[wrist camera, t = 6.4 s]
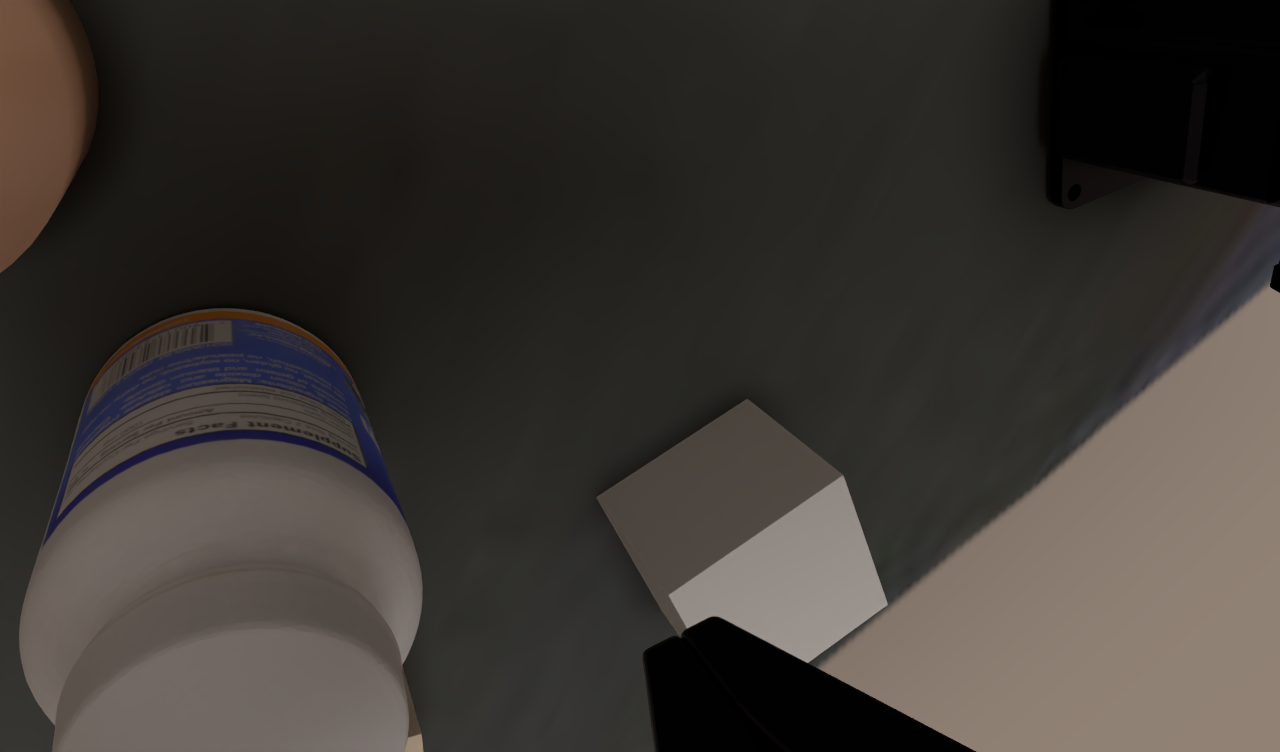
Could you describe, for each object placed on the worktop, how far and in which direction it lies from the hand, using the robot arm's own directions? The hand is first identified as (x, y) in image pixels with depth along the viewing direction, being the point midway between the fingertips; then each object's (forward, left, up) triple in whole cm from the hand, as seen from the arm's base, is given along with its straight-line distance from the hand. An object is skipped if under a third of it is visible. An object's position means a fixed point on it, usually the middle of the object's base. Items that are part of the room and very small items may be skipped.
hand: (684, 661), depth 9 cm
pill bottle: (+5, +1, -13) cm, 14 cm away
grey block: (-5, +9, -13) cm, 17 cm away
